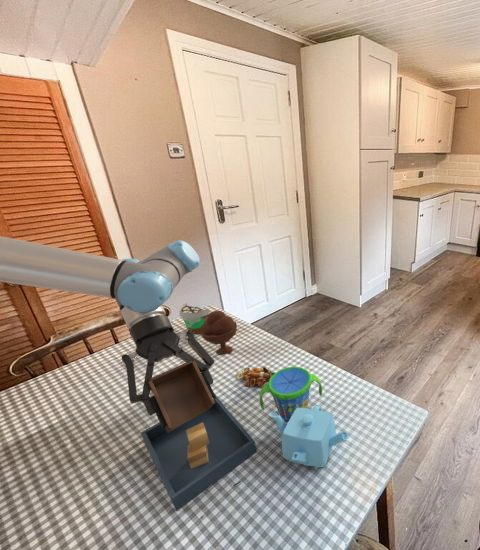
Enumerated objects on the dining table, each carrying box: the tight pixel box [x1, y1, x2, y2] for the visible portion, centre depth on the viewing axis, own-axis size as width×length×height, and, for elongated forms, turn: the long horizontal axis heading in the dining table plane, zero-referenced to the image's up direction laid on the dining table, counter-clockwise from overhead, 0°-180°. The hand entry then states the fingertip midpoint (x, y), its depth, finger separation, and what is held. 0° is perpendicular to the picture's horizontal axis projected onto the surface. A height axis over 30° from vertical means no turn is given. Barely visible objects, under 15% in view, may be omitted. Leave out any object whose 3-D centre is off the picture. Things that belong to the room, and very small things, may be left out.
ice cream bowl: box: [200, 310, 238, 356], centre depth 101 cm, size 11×11×15 cm
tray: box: [140, 394, 257, 512], centre depth 69 cm, size 22×17×4 cm
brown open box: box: [147, 359, 215, 433], centre depth 67 cm, size 11×9×8 cm
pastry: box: [235, 366, 276, 388], centre depth 90 cm, size 7×12×4 cm, turn 78°
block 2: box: [187, 445, 209, 469], centre depth 66 cm, size 3×3×3 cm
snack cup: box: [259, 366, 323, 422], centre depth 78 cm, size 16×10×10 cm
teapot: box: [269, 405, 349, 469], centre depth 66 cm, size 18×14×10 cm
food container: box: [179, 303, 211, 336], centre depth 113 cm, size 12×6×10 cm, turn 68°
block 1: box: [186, 422, 209, 452], centre depth 66 cm, size 3×3×3 cm
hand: (190, 412), depth 65 cm, fingers closed on brown open box, 9 cm apart
